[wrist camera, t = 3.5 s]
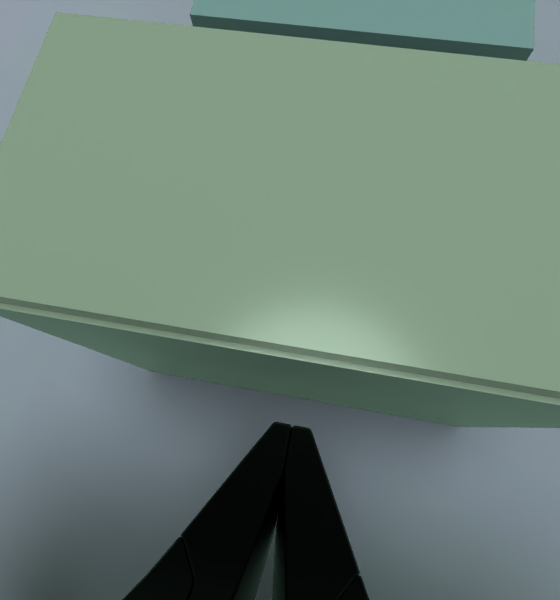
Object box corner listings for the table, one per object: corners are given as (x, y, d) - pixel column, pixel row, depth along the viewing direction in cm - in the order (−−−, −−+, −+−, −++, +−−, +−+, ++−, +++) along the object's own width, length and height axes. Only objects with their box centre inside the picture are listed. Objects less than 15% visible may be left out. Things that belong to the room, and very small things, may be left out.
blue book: (408, 250, 18) (533, 48, 8) (246, 226, 19) (190, 14, 9) (416, 165, 19) (535, -98, 9) (264, 146, 20) (230, -119, 10)
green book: (458, 426, 16) (739, 429, 6) (151, 371, 17) (-68, 291, 7) (467, 277, 18) (699, 73, 7) (187, 235, 19) (52, 7, 8)
